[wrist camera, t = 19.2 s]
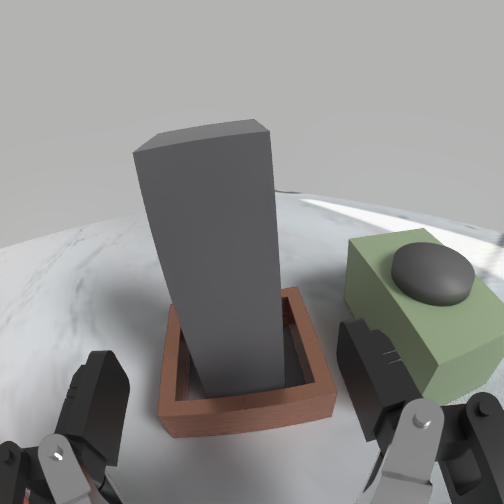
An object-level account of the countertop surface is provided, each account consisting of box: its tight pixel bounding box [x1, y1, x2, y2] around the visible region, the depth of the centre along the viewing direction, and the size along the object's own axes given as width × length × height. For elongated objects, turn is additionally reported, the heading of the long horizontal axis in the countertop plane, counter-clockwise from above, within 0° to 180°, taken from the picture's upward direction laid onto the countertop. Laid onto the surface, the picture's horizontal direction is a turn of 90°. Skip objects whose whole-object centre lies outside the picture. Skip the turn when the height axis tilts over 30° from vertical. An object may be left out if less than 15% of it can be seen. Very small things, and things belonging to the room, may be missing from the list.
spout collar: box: [157, 287, 337, 438], centre depth 20 cm, size 10×10×3 cm
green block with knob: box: [344, 228, 504, 406], centre depth 19 cm, size 8×13×7 cm, turn 7°
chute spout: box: [133, 119, 285, 399], centre depth 16 cm, size 5×5×16 cm
